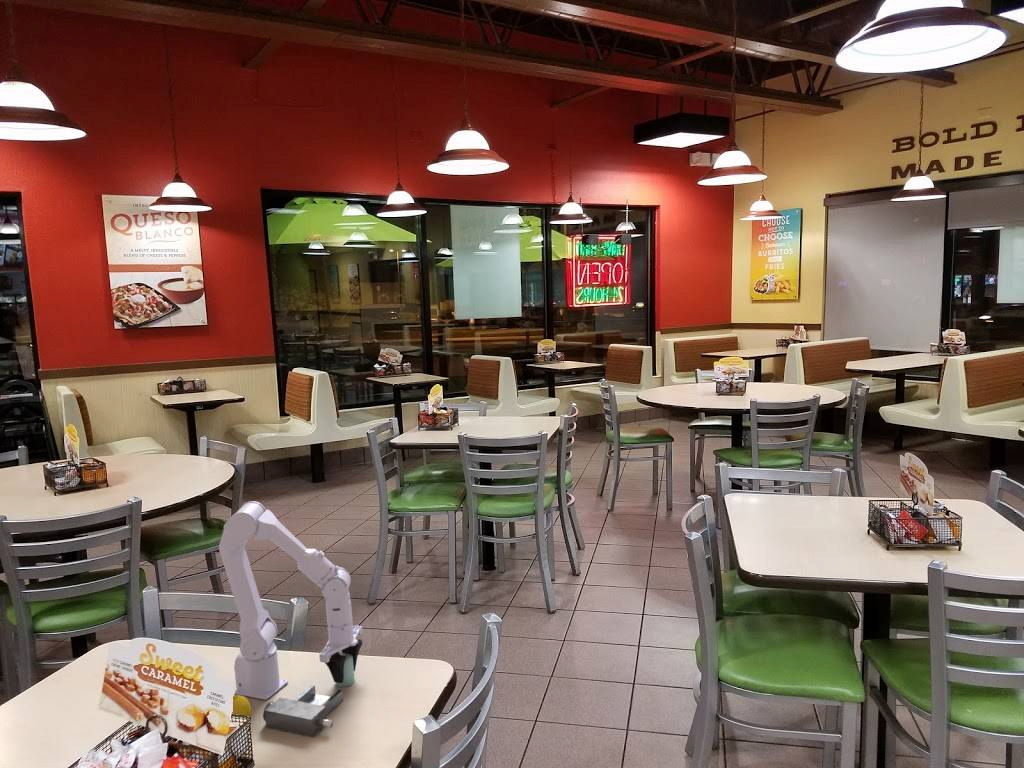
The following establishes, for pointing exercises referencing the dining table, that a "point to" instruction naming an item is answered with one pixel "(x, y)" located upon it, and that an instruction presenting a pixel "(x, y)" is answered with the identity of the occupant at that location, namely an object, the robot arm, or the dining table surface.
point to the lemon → (241, 706)
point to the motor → (302, 712)
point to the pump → (347, 671)
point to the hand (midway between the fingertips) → (344, 676)
